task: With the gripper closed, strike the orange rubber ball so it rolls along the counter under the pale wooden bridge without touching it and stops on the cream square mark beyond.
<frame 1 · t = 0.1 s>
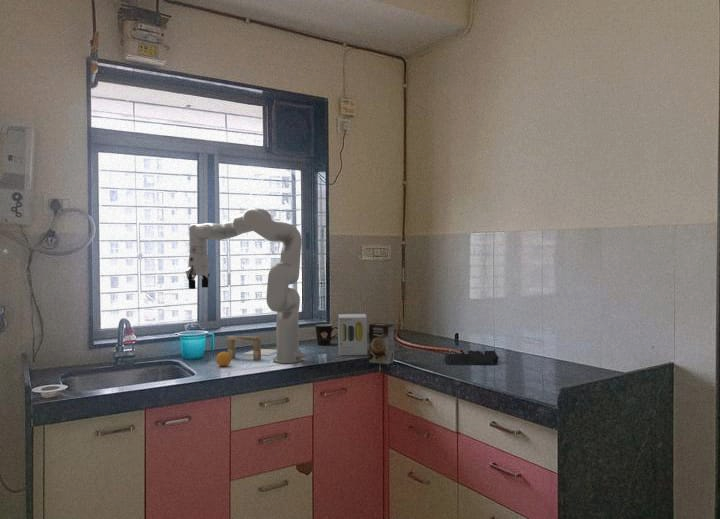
hand: (198, 288, 239), 31 cm above the worktop, tool pointing down, fingers open, 9 cm apart
ball: (223, 358, 216), on the worktop
dark slate chunk: (471, 363, 219), on the worktop
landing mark: (262, 352, 246), on the worktop
coffee box: (381, 362, 220), on the worktop
supplement box: (352, 353, 242), on the worktop
bridge: (244, 358, 231), on the worktop
coffee mug: (326, 345, 265), on the worktop
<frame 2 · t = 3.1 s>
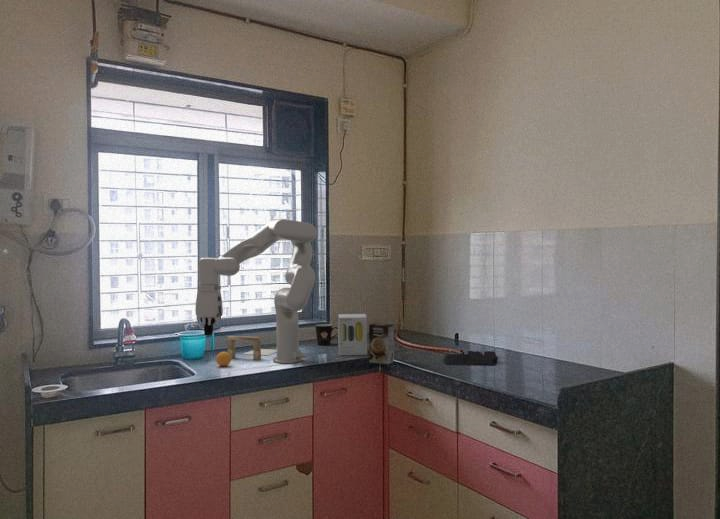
hand: (208, 334, 206), 14 cm above the worktop, tool pointing down, fingers closed
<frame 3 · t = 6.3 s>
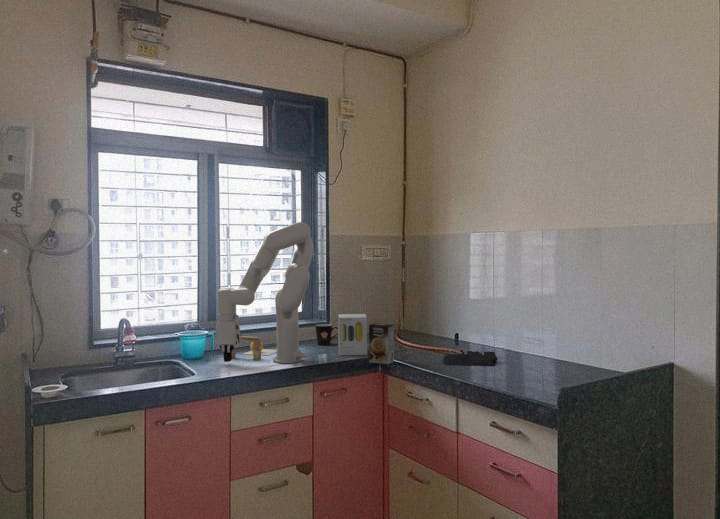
hand: (227, 361, 219), 1 cm above the worktop, tool pointing down, fingers closed
ball: (256, 346, 244), on the worktop
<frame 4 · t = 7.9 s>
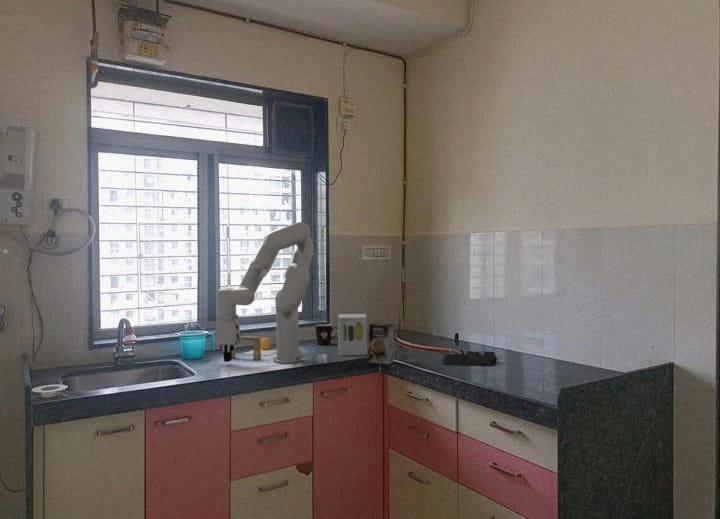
hand: (227, 361, 219), 1 cm above the worktop, tool pointing down, fingers closed
ball: (265, 343, 253), on the worktop
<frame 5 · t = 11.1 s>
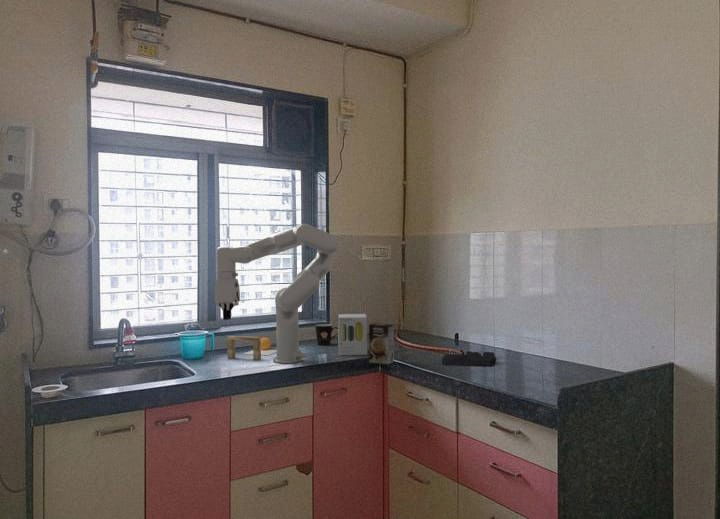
hand: (227, 319, 219), 19 cm above the worktop, tool pointing down, fingers closed
at the end: ball 6.5 cm from the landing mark (horizontally); ball never touched bridge; ball at rest at the end (0.0 cm/s) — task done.
